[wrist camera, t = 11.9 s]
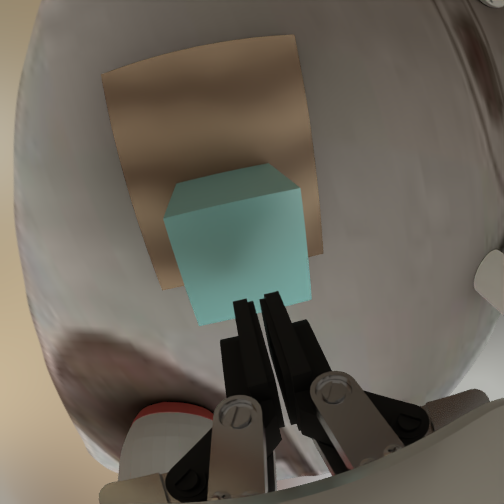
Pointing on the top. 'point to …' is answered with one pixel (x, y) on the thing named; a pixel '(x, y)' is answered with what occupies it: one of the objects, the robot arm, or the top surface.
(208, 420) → the citrus juicer
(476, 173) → the top surface
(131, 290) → the top surface
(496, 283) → the cylindrical container
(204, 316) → the mint green cube
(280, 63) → the board
